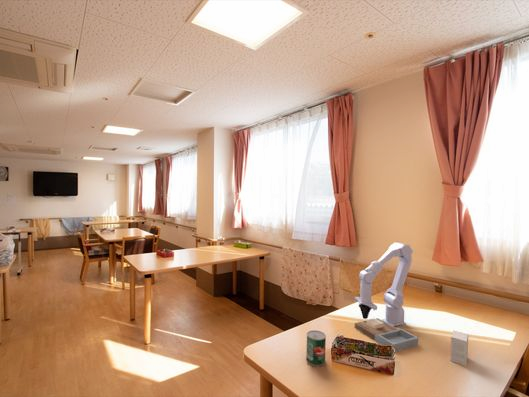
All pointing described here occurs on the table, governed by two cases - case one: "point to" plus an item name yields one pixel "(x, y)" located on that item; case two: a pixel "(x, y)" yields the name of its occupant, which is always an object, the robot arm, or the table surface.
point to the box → (397, 339)
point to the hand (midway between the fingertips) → (365, 318)
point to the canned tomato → (316, 348)
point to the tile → (374, 323)
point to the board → (371, 331)
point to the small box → (459, 348)
